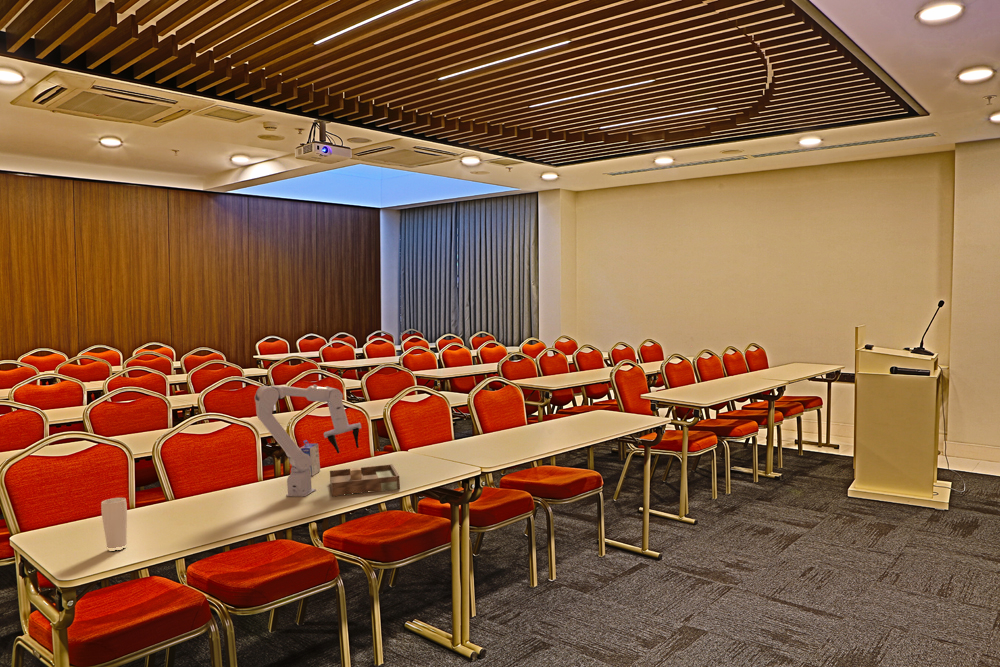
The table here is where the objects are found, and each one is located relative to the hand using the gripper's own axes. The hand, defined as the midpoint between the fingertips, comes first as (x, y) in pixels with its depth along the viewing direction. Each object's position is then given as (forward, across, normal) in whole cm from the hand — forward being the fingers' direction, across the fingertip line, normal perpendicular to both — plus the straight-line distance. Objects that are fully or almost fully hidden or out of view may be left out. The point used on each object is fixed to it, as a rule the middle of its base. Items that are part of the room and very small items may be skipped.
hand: (348, 449), depth 286 cm
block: (+11, 0, +6) cm, 12 cm away
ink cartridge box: (+12, +20, -24) cm, 34 cm away
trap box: (+14, -3, +6) cm, 16 cm away
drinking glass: (-4, +68, +58) cm, 89 cm away
